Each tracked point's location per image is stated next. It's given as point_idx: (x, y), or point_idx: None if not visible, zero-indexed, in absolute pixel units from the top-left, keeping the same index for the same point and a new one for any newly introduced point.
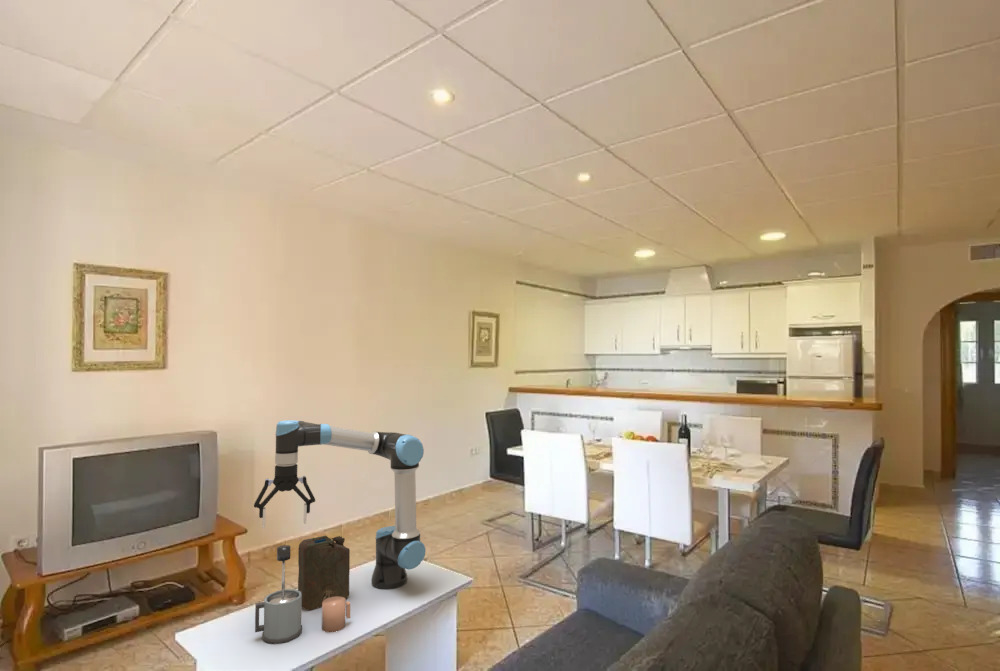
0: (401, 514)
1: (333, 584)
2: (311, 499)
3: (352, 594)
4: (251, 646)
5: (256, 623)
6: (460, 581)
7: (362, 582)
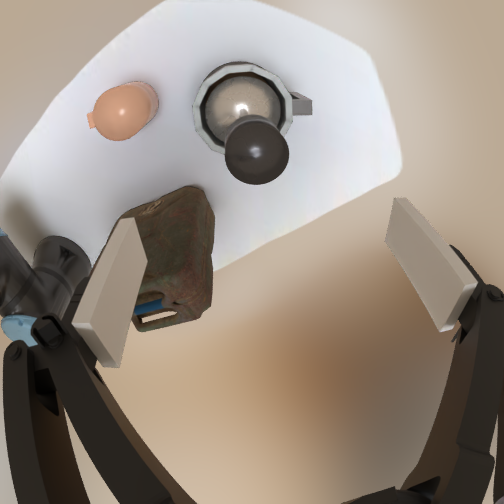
0: None
1: (136, 224)
2: (24, 365)
3: None
4: (297, 72)
5: (298, 94)
6: None
7: None
